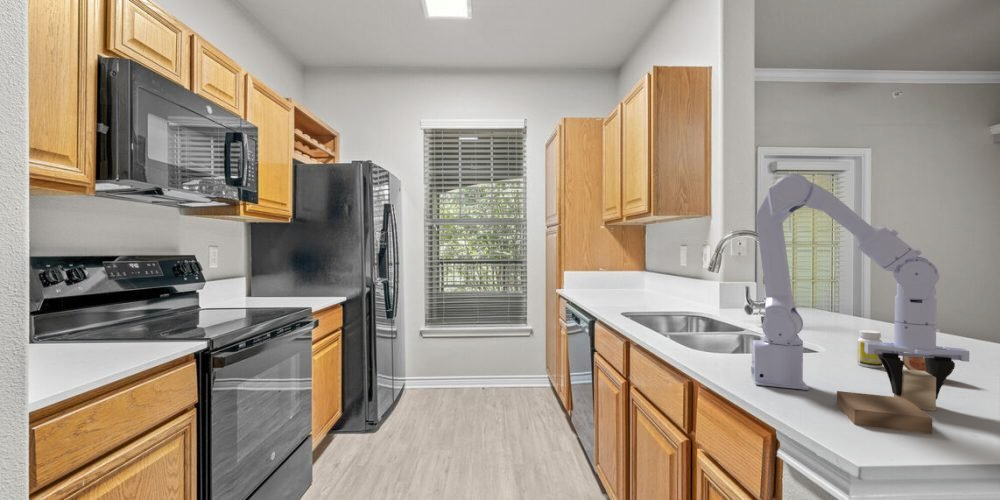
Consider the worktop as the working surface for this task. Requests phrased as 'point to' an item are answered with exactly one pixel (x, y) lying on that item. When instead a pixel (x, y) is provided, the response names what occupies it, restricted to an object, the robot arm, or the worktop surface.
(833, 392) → the worktop surface
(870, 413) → the walnut block
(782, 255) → the robot arm
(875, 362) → the supplement bottle
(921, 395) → the birch block
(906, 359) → the fruit slice
